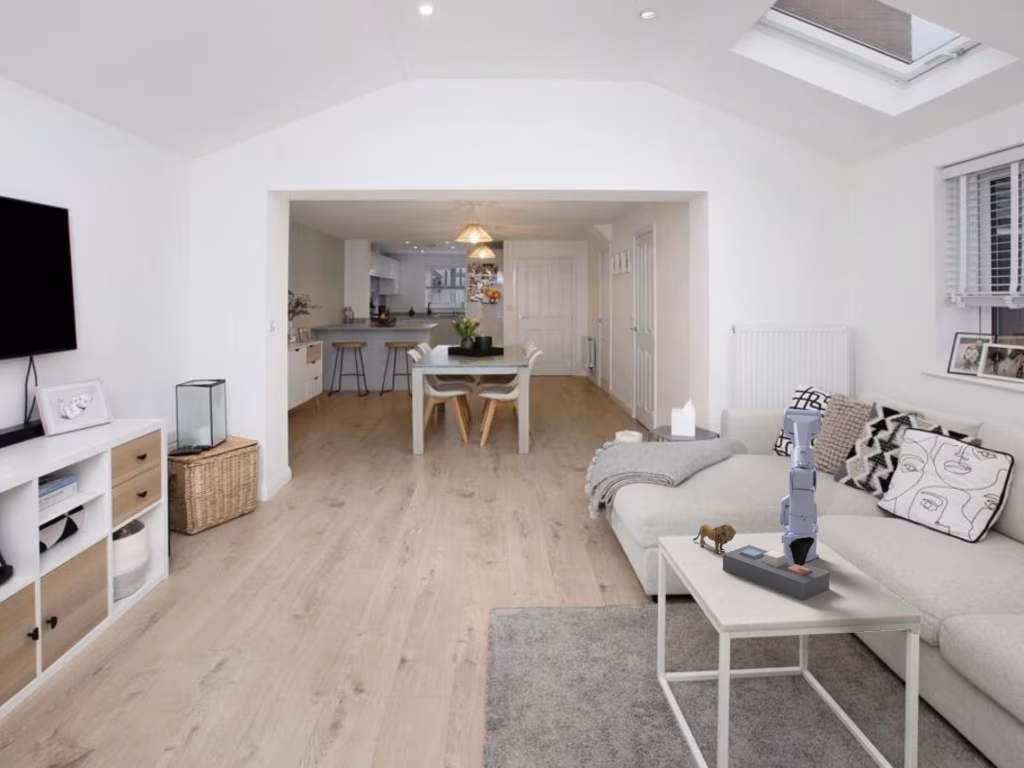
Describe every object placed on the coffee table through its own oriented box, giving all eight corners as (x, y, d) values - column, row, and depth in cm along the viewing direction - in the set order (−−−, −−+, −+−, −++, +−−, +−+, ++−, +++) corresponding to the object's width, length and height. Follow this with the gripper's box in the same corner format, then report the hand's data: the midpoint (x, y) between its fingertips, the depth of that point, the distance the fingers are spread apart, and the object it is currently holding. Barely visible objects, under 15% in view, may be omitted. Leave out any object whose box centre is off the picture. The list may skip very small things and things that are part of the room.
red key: (795, 575, 168) (796, 564, 167) (810, 580, 164) (810, 569, 164) (787, 578, 165) (787, 567, 165) (801, 583, 162) (801, 572, 162)
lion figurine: (738, 553, 189) (739, 524, 188) (727, 557, 186) (728, 528, 185) (697, 539, 201) (698, 512, 200) (687, 543, 198) (687, 515, 197)
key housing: (748, 559, 184) (749, 544, 183) (829, 588, 164) (829, 572, 164) (722, 569, 177) (723, 554, 177) (803, 600, 158) (804, 583, 157)
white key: (772, 560, 173) (772, 550, 173) (785, 565, 170) (785, 554, 170) (763, 564, 171) (763, 553, 171) (776, 568, 168) (777, 558, 167)
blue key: (749, 558, 179) (749, 548, 179) (762, 563, 176) (762, 552, 175) (740, 561, 177) (741, 551, 176) (753, 566, 174) (753, 555, 173)
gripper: (801, 504, 170) (799, 553, 172) (771, 515, 162) (769, 566, 163) (827, 511, 165) (824, 561, 166) (797, 522, 156) (795, 575, 158)
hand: (799, 564), depth 164 cm, fingers closed
